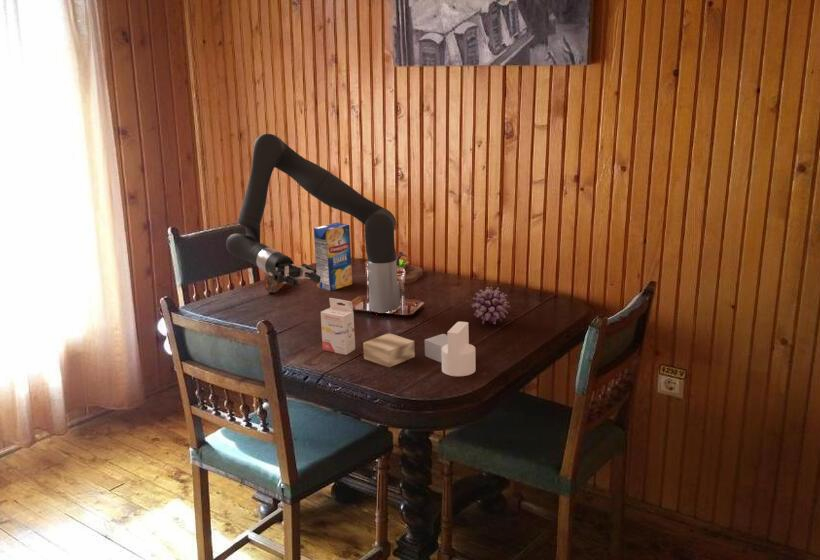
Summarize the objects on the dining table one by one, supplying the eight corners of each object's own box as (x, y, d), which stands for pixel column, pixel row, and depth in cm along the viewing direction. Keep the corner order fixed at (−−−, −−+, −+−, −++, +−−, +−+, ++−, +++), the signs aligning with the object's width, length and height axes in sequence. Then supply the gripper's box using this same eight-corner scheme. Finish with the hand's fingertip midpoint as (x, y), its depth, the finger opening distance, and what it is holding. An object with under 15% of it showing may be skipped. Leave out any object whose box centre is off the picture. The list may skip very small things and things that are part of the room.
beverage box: (317, 287, 294) (313, 228, 288) (339, 280, 302) (336, 222, 296) (329, 291, 290) (326, 230, 284) (352, 284, 297) (349, 225, 291)
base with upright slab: (469, 378, 212) (469, 334, 208) (437, 373, 215) (436, 331, 212) (479, 365, 220) (479, 323, 216) (448, 361, 223) (447, 320, 220)
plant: (380, 268, 318) (379, 240, 315) (428, 272, 311) (427, 243, 308) (360, 282, 300) (359, 253, 297) (410, 286, 293) (409, 256, 290)
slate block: (443, 350, 232) (443, 333, 230) (460, 356, 227) (460, 339, 225) (424, 356, 228) (424, 339, 226) (441, 363, 222) (441, 346, 221)
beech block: (389, 349, 234) (388, 333, 232) (414, 357, 227) (414, 341, 226) (363, 359, 227) (363, 342, 226) (389, 368, 220) (388, 351, 219)
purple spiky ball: (473, 330, 246) (472, 293, 242) (470, 318, 257) (470, 281, 254) (511, 330, 246) (511, 292, 242) (507, 317, 257) (507, 280, 254)
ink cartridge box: (321, 350, 234) (318, 301, 230) (331, 344, 238) (329, 296, 234) (346, 355, 230) (343, 305, 225) (356, 349, 234) (353, 300, 230)
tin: (272, 295, 287) (270, 272, 284) (263, 295, 287) (261, 272, 285) (286, 283, 301) (285, 261, 298) (278, 283, 301) (277, 261, 299)
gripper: (256, 254, 242) (290, 273, 232) (294, 249, 252) (328, 267, 242) (253, 277, 244) (287, 297, 234) (291, 271, 254) (325, 290, 244)
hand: (308, 282), depth 238 cm, fingers open, 8 cm apart
